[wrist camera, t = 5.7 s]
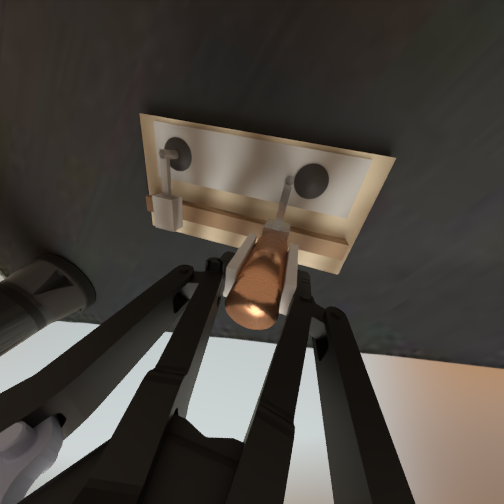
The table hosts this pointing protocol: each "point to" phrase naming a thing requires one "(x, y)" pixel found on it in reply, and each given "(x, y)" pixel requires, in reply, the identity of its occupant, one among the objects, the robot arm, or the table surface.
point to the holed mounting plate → (258, 187)
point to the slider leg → (263, 273)
